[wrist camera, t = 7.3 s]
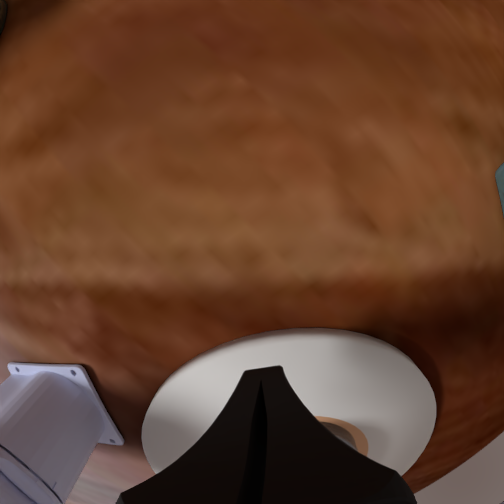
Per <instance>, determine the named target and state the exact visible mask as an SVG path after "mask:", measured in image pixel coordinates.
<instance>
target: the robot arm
mask: <svg viewBox="0 0 504 504" xmlns="http://www.w3.org/2000/svg"><path fill="white" fill-rule="evenodd" d="M8 369H9V371H10V373H11V375H10V376H9V377H8V378H7V379H6V380H5V381H4V382H3V383H2V384H1V385H0V504H65V502H66V500H67V498H68V496H69V494H70V492H71V490H72V489H73V487H74V485H75V483H76V481H77V479H78V477H79V475H80V474H81V472H82V470H83V468H84V466H85V464H86V463H87V461H88V459H89V457H90V455H91V453H92V452H93V450H94V448H95V446H96V444H97V443H104V444H112V445H123V444H124V439H123V437H122V436H121V434H120V433H119V431H118V429H117V428H116V426H115V424H114V423H113V421H112V419H111V417H110V416H109V414H108V412H107V410H106V409H105V407H104V405H103V403H102V401H101V400H100V398H99V396H98V394H97V392H96V390H95V388H94V386H93V384H92V382H91V380H90V378H89V376H88V374H87V372H86V370H85V368H84V367H83V366H81V365H68V364H33V363H15V362H10V363H9V364H8ZM74 371H75V372H74ZM116 504H417V501H416V499H415V496H414V494H413V492H412V491H411V489H410V488H409V486H408V485H407V483H406V482H405V481H404V479H403V478H402V477H401V476H400V474H399V473H398V472H397V471H396V470H393V469H391V468H389V467H386V466H384V465H382V464H380V463H378V462H376V461H374V460H372V459H370V458H368V457H366V456H365V455H363V454H361V453H359V452H358V451H356V450H355V449H353V448H352V447H350V446H349V445H347V444H346V443H345V442H343V441H342V440H340V439H339V438H338V437H336V436H335V435H334V434H333V433H332V432H330V431H329V430H328V429H327V428H326V427H325V426H324V425H323V424H321V423H320V422H319V421H318V420H317V419H316V418H315V416H314V415H313V414H312V413H311V412H310V411H309V410H308V409H307V407H306V406H305V405H304V404H303V403H302V401H301V400H300V399H299V397H298V396H297V394H296V393H295V391H294V390H293V388H292V387H291V385H290V383H289V382H288V380H287V378H286V376H285V373H284V370H283V367H282V366H280V365H276V366H270V367H264V368H257V369H250V370H245V371H244V372H243V374H242V376H241V378H240V380H239V382H238V384H237V386H236V388H235V390H234V392H233V393H232V395H231V397H230V398H229V400H228V402H227V403H226V405H225V406H224V408H223V409H222V411H221V412H220V414H219V415H218V416H217V418H216V419H215V421H214V422H213V423H212V425H211V426H210V427H209V428H208V429H207V431H206V432H205V433H204V434H203V435H202V436H201V437H200V439H199V440H198V441H197V442H196V443H195V444H194V445H193V446H192V447H191V448H189V449H188V450H187V451H186V452H185V453H184V454H183V455H182V456H181V457H179V458H178V459H177V460H176V461H175V462H173V463H172V464H171V465H169V466H168V467H166V468H165V469H164V470H162V471H161V472H159V473H157V474H156V475H154V476H153V477H151V478H149V479H148V480H146V481H144V482H142V483H140V484H138V485H136V486H134V487H132V488H130V489H128V490H126V491H124V492H122V493H121V494H120V496H119V498H118V500H117V502H116ZM500 504H504V501H503V502H502V503H500Z"/></svg>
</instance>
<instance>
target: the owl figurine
mask: <svg viewBox="0 0 504 504" xmlns="http://www.w3.org/2000/svg"><path fill="white" fill-rule="evenodd" d="M6 14H7V5H6V2H5V1H4V0H0V34H1V32H2V29H3V27H4V24H5V19H6Z"/></svg>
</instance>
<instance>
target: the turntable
mask: <svg viewBox="0 0 504 504" xmlns="http://www.w3.org/2000/svg"><path fill="white" fill-rule="evenodd" d="M276 365H280V366H282V367H283V370H284V373H285V376H286V378H287V380H288V382H289V383H290V385H291V387H292V388H293V390H294V391H295V393H296V394H297V396H298V397H299V399H300V400H301V401H302V403H303V404H304V405H305V406H306V407H307V409H308V410H309V411H310V412H311V413H312V414H313V415H314V416H315V418H316V419H317V420H318V421H320V422H327V423H332V424H336V425H338V426H341V427H343V428H344V429H346V430H347V431H348V432H350V433H351V435H352V436H353V438H354V440H355V443H356V446H357V449H358V452H359V453H361V454H363V455H365V456H366V457H368V458H370V459H372V460H374V461H376V462H378V463H380V464H382V465H384V466H386V467H389V468H391V469H393V470H396V471H397V472H398V473H399V474H400V476H402V475H403V474H404V473H405V472H406V471H407V470H408V469H409V468H410V467H411V466H412V465H413V464H414V463H415V462H416V460H417V459H418V458H419V456H420V455H421V453H422V452H423V451H424V449H425V447H426V445H427V443H428V442H429V440H430V437H431V435H432V432H433V429H434V425H435V420H436V401H435V396H434V392H433V390H432V388H431V386H430V384H429V382H428V380H427V379H426V378H425V376H424V375H423V374H422V372H421V371H420V370H419V368H418V367H417V366H416V365H415V363H414V362H413V361H412V360H411V359H410V358H409V357H408V356H407V355H405V354H404V353H403V352H402V351H401V350H399V349H398V348H396V347H394V346H392V345H390V344H389V343H387V342H385V341H383V340H380V339H377V338H375V337H372V336H369V335H366V334H362V333H357V332H352V331H348V330H342V329H330V328H291V329H283V330H274V331H267V332H263V333H258V334H254V335H249V336H244V337H241V338H238V339H235V340H232V341H229V342H226V343H223V344H220V345H218V346H216V347H214V348H212V349H209V350H207V351H205V352H203V353H201V354H199V355H197V356H196V357H194V358H193V359H191V360H189V361H188V362H186V363H184V364H183V365H182V366H181V367H179V368H178V369H177V370H176V371H175V372H173V373H172V374H171V375H170V376H169V377H168V378H167V379H166V380H165V382H164V383H163V384H162V385H161V386H160V387H159V389H158V391H157V393H156V394H155V396H154V398H153V400H152V402H151V404H150V406H149V408H148V410H147V413H146V415H145V418H144V422H143V425H142V436H141V439H142V445H143V450H144V453H145V456H146V458H147V461H148V462H149V464H150V466H151V467H152V469H153V471H154V472H155V473H156V474H157V473H159V472H161V471H162V470H164V469H165V468H166V467H168V466H169V465H171V464H172V463H173V462H175V461H176V460H177V459H178V458H179V457H181V456H182V455H183V454H184V453H185V452H186V451H187V450H188V449H189V448H191V447H192V446H193V445H194V444H195V443H196V442H197V441H198V440H199V439H200V437H201V436H202V435H203V434H204V433H205V432H206V431H207V429H208V428H209V427H210V426H211V425H212V423H213V422H214V421H215V419H216V418H217V416H218V415H219V414H220V412H221V411H222V409H223V408H224V406H225V405H226V403H227V402H228V400H229V398H230V397H231V395H232V393H233V392H234V390H235V388H236V386H237V384H238V382H239V380H240V378H241V376H242V374H243V372H244V371H245V370H250V369H257V368H264V367H270V366H276Z"/></svg>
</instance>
